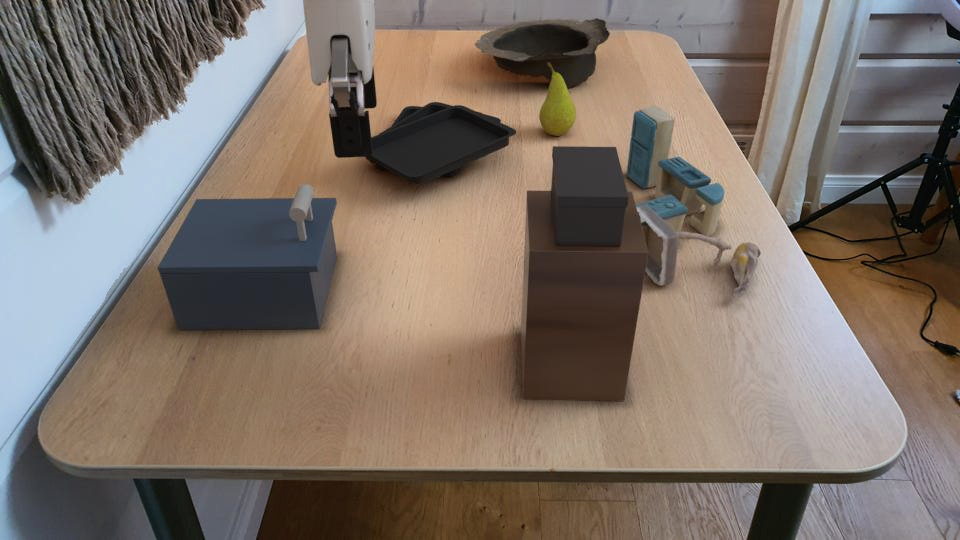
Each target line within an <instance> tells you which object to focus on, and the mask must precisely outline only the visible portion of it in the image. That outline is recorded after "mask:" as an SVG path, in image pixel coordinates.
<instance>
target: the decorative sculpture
mask: <svg viewBox="0 0 960 540" xmlns="http://www.w3.org/2000/svg"><path fill="white" fill-rule="evenodd" d="M636 208H637V212H638V215H639V218H640V219H641V223H642V222H644V221H645V222H647V223H648V225H649V227H648V237H647V249H648V258H647V265H646V271H645V274H646V275H647V276H648V277H650V279H651V280H652V281H653V283H654V284H655V285H658V286H667V285H670V284H672V283H673V282H674V280H675V275H676V268H677V262H678V261H677V260H678V249H679V240H680V239H681V240H699V241H702V242H705V243H709V244H710V245H711V246H714V247H716V248H717V249H718V252H717V254H716V257H715V258H714V259H713V260H712V261H713V265H712V266H713V267H714V268H716V267H717V266H718V264H719V263H720V262H721V259H722V256H723V252H724V251H727V250H730V251H731V250H732V245H731V244H728V243H727V242H725V241H724V239H722V238H720V237H719V238H717V237H713V236H704V235H703V234H701V233H697V232H689V231H682V230H680V231H679V232H675V231H674V230H673V229H672V228H671V227H670V226H669V225H668V224H667V223H666V222H665V221H664V220H663V219H662V218H661V217H660V216H659V215H658V214H657V213H656V212H655V211H654V210H653V209H651V208H650V207H649V206H648V205H641V206H637V207H636ZM761 252H762V251H761V249H760V248H759V246H758V245H757V244H755V243H752V242H747V241H746V242H743V243H741V244H739V245H738V246H737V247H736V248H735V250H734V252H733V255H732V258H731V260H730V261H729V262H728V265H729V266H731V268H732V272H733V277H734V279H735V281H736V283H737V285H738V286H737V287H735V289H734V290H733V291H732V297H733V302H736V301H737V300H738V299H739V298H740V297H741V295H742V294H743V293H744V291H747V289H748V285H749V283H750V278H751V277H752V275H753V273H754V272H755V270H756V269H757V268H758V262H759V260H758V259H759V257H760V256H761Z"/></svg>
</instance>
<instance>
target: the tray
mask: <svg viewBox="0 0 960 540" xmlns="http://www.w3.org/2000/svg"><path fill="white" fill-rule="evenodd" d="M516 134H517V130H516V129H515V128H513V127H511V126H509V125H507V124H504V123H503V122H502V120H501V119H500V118H499V117H497V116H493V115H489V114H487V113H483V112H482V111H481V112H480V111H476V110H474V109H472V108H470V107H467V106H465V105H462V104H455V105H451V104H447V103H445V102H439V101H432V102H429V103H426V104H425V105H424V106H421V105H420V106H419V105H408V106H405V107H404V108H403V109H401V111H400V113H399V114H398V116H397V117H396V119H395V120H394V122H393V123H392V124H391V126H389V127H388V128H386V129H385V130H382V132H380V133H377V134H376V135H373V136H371V140H372V149H373V150H372V155H371V156H369V157H364V158H365V160H366V161H368V162H369V163H371V164H374V167H375V170H378V171H381V172H391V173H393V174H395V175H396V176H398V177H399V178H401V179H403V180H404V181H406V182H408V183H410V184H413V185H423V184H426V183H428V182H430V181H433V180H435V179H437V178H454V177H456V176H457V175H458V173H459V171H460V169H461V168H462V167H464V166H466V165H468V164H471V163H473V162H475V161H477V160H480V159H482V158H484V157H486V156H488V155H490V154H493V153H496V152H497V151H500V150H501V149H504V148H506V147H508V146H509V145H510V138H511V137H513V136H515V135H516Z"/></svg>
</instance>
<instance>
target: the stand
mask: <svg viewBox="0 0 960 540" xmlns="http://www.w3.org/2000/svg"><path fill="white" fill-rule="evenodd" d="M627 192H628V196H629V200H628V207H626V210H625V218H624V225H623V232H622V240H621V246H620V247H613V246H556V243H555V232H554V222H553V211H552V200H551V190H529V189H528V190H526V197H525V200H526V202H525V223H524V224H525V225H524V248H523V249H524V250H523V273H522V274H523V275H522V299H521V300H522V301H521V304H522V305H521V321H520V323H521V324H520V326H521V327H520V342H521V343H520V344H521V345H520V347H521V382H522V383H521V384H522V385H521V386H522V399H523V400H550V401H551V400H553V401H555V400H557V401H558V400H559V401H607V402H608V401H610V402H612V401H613V402H625V399H626V392H627V385H628V381H629V374H630V368H631V361H632V355H633V349H634V343H635V339H636V338H635V337H636V330H637V324H638V319H639V313H640V307H641V301H642V295H643V288H644V283H645V278H646V277H645V275H646V272H645V271H646V265H647V258H648V249H647V245H646V242H645V238H644V234H643V230H642V227H641V223H640V219H639V215H638V212H637V208H636V201H635V197H634V193H633V191H627Z"/></svg>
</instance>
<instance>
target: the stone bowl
mask: <svg viewBox="0 0 960 540" xmlns="http://www.w3.org/2000/svg"><path fill="white" fill-rule="evenodd" d="M606 25H607V22H606V21H605V19H600V18H597V17H595V18H593V19H585V20H583V21H580V20H577V19H539V20H528V21H520V22H517V23H511V24H508V25H504V26H502V27H498V28H496V29H494V30H491V31H488V32H486V33H484V34H482V35H480V37H479V39H477V40H476V42H475V43H474V46H475V47H476V48H477V49H479V50H480V53H482V54H485V55H486V54H487V55H491V56H493V59H494V61H495V63H496V65H497V67H498V68H499V69H500V70H503V71H505V72H508V73H510V74H515V75H516V76H518V75H520V76H525V77H527V76H528V77H532V78H539V77H544V78H545V79H546V80H548V81H549V80H550V81H551V80H552V70H551V68H550V67H549V66H548V65H547V62H549V63H550V64H551V66H552V68H553V70H554V72H557V73H559V74H560V75H561V76H562V78H563V80H564V82H565V84H566V87H567V90H568V89H571V88H572V87H576V86H578V85H580V84H583V83H585V82H587V80H588V79H589V78H590V77H592V76H593V75H594V74H595V70H596V65H597V55H596V51H597V49H598V46H600V45H602V44H604V43H605V42H606V41H608V39H609V38H610V36H611V32H610V31H609V30H608V29H607V28H608V27H607V26H606Z"/></svg>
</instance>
